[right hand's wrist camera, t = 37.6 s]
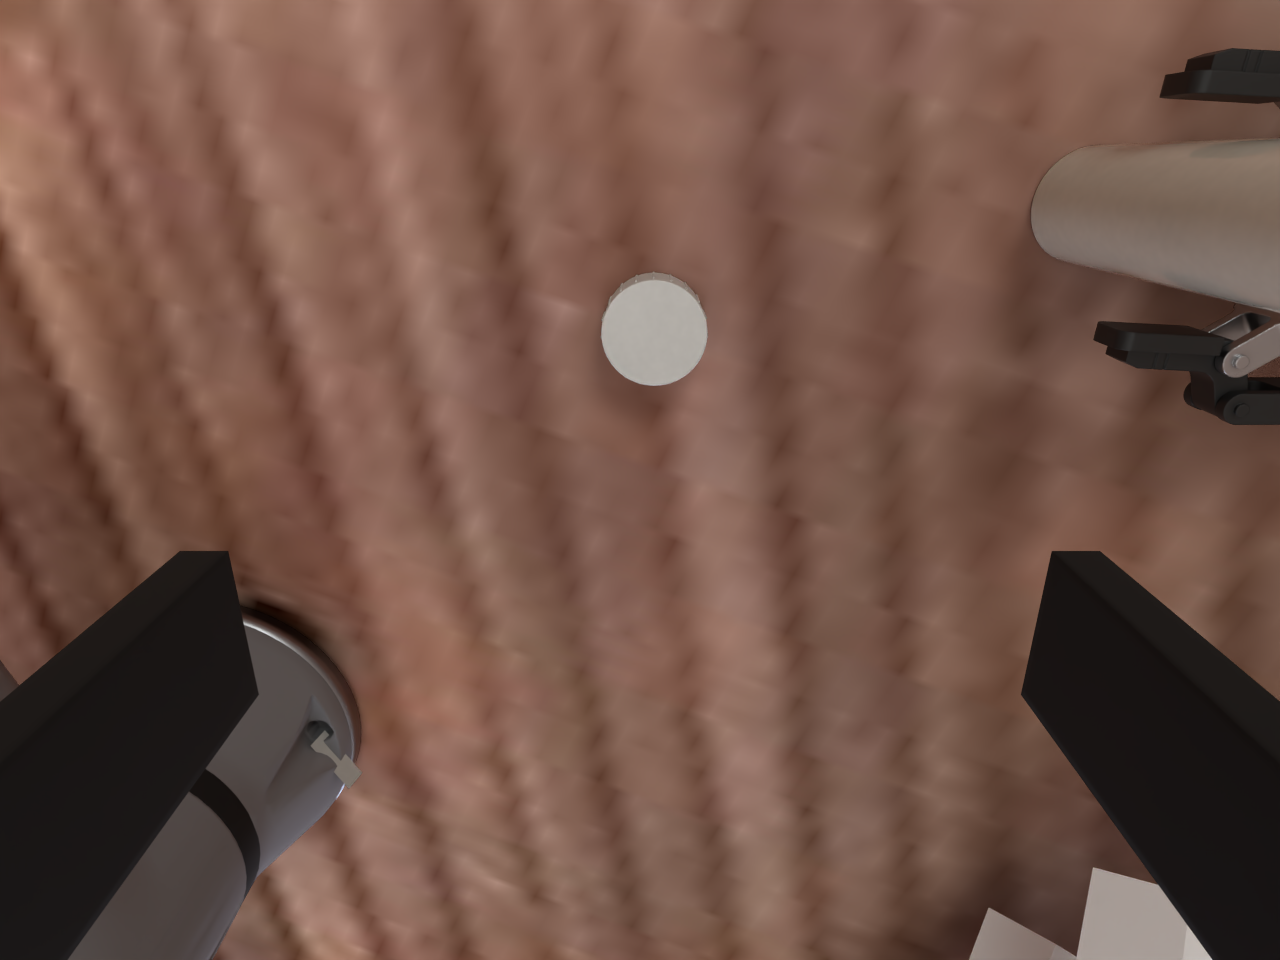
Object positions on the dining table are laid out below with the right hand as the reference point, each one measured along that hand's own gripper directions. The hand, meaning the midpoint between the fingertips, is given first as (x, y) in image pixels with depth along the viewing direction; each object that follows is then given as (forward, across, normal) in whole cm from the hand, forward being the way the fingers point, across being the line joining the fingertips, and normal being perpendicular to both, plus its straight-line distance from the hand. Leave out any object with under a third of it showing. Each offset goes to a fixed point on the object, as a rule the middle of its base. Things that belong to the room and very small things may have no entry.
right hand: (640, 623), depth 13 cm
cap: (+23, +1, 0) cm, 23 cm away
